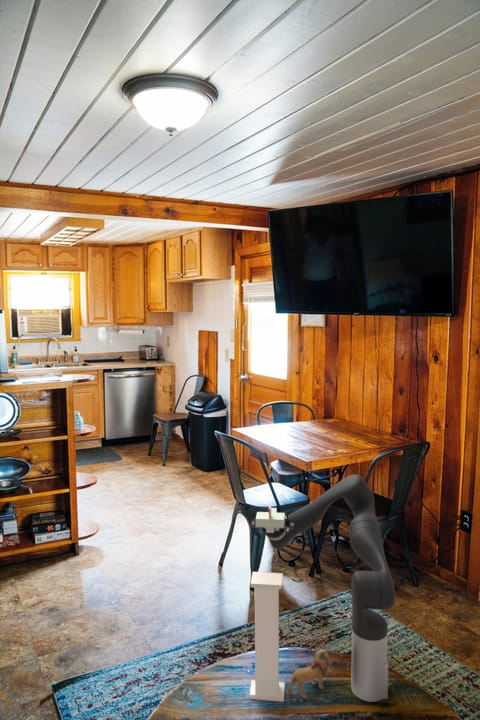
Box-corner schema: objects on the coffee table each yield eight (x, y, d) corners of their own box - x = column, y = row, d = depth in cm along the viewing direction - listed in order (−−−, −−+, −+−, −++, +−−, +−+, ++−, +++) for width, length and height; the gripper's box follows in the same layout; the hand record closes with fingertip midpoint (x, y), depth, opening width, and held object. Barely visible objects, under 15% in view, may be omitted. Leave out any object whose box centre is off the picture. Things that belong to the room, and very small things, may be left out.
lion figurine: (319, 672, 154) (319, 642, 153) (333, 682, 150) (334, 652, 148) (281, 697, 144) (281, 665, 143) (296, 708, 140) (296, 676, 139)
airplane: (286, 513, 168) (285, 491, 167) (283, 534, 154) (283, 509, 153) (260, 513, 169) (260, 490, 168) (255, 532, 155) (255, 508, 154)
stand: (284, 685, 148) (284, 573, 145) (283, 702, 143) (283, 585, 139) (251, 683, 150) (250, 571, 146) (249, 699, 144) (248, 583, 140)
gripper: (295, 540, 172) (294, 534, 157) (252, 538, 174) (246, 532, 158) (296, 515, 175) (294, 507, 160) (253, 514, 177) (247, 506, 161)
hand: (270, 520), depth 159 cm, fingers closed on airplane
